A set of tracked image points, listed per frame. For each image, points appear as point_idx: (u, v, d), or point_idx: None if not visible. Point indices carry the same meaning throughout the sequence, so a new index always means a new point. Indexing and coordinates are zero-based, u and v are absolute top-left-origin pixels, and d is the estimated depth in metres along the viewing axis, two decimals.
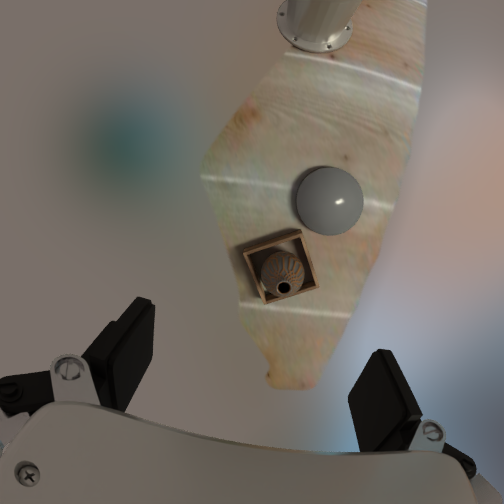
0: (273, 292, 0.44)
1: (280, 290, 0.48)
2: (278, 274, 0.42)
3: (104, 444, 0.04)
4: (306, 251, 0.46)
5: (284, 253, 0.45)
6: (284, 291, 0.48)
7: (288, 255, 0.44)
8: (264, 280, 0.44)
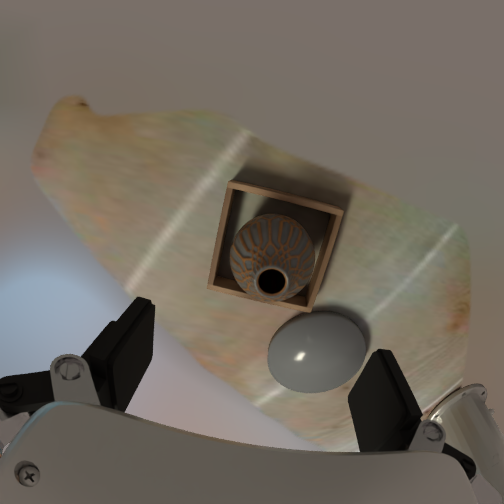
0: (264, 243, 0.20)
1: None
2: (296, 278, 0.20)
3: (104, 444, 0.04)
4: (279, 303, 0.27)
5: None
6: None
7: None
8: (293, 235, 0.21)
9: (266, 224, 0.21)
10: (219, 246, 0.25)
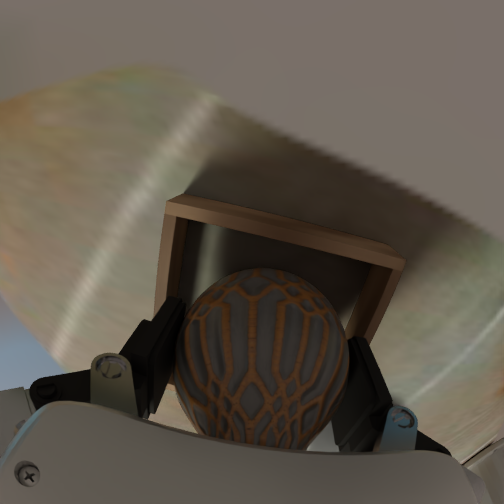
0: (237, 375, 0.07)
1: None
2: (312, 439, 0.07)
3: (104, 444, 0.04)
4: None
5: None
6: None
7: None
8: (311, 345, 0.08)
9: (244, 316, 0.08)
10: None
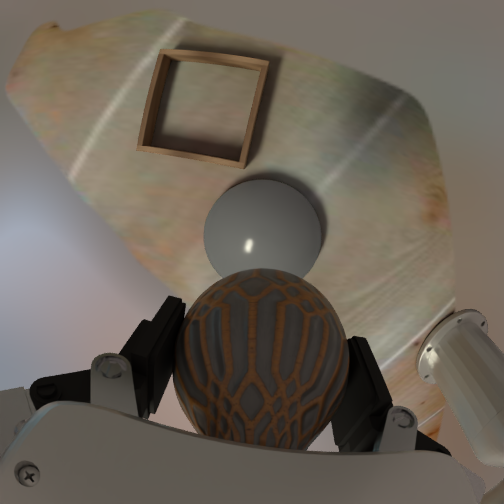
0: (237, 376, 0.07)
1: None
2: (312, 439, 0.07)
3: (104, 444, 0.04)
4: (208, 158, 0.24)
5: None
6: None
7: None
8: (311, 346, 0.08)
9: (244, 316, 0.08)
10: (149, 105, 0.22)
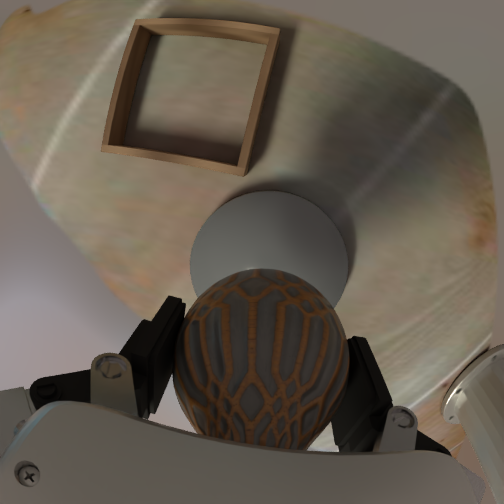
0: (237, 376, 0.07)
1: None
2: (312, 440, 0.07)
3: (104, 444, 0.04)
4: (193, 161, 0.17)
5: None
6: None
7: None
8: (311, 346, 0.08)
9: (244, 316, 0.08)
10: (118, 91, 0.15)
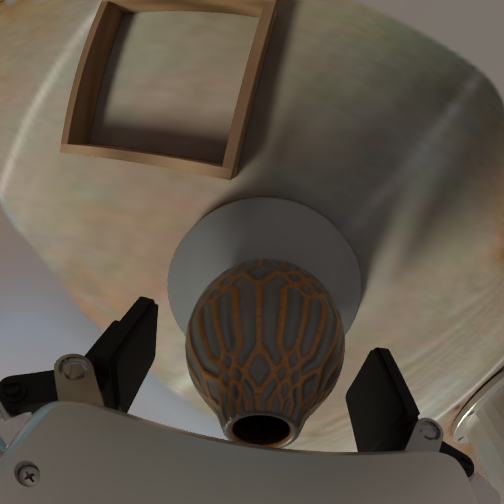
0: (246, 348, 0.09)
1: None
2: (312, 409, 0.09)
3: (104, 444, 0.04)
4: (166, 161, 0.13)
5: None
6: None
7: None
8: (310, 323, 0.09)
9: (252, 297, 0.10)
10: (79, 78, 0.11)
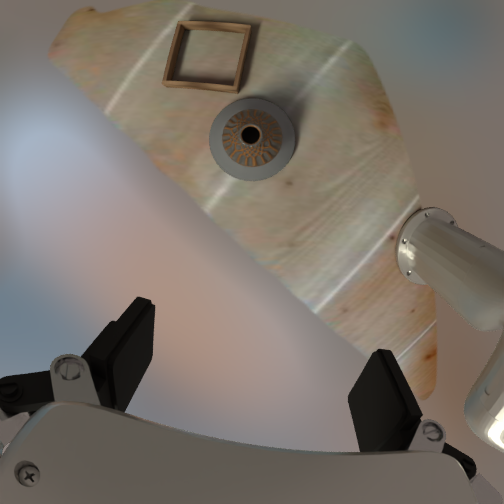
0: (245, 117, 0.28)
1: None
2: (268, 137, 0.28)
3: (104, 444, 0.04)
4: (212, 85, 0.32)
5: None
6: None
7: (274, 157, 0.32)
8: (264, 114, 0.28)
9: (246, 110, 0.29)
10: (171, 55, 0.30)
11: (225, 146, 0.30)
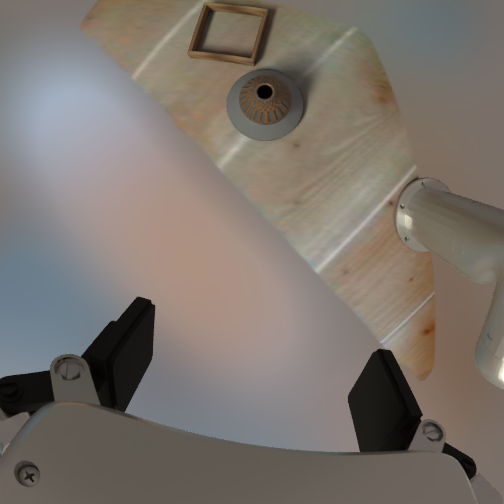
0: (260, 79, 0.30)
1: None
2: (279, 95, 0.30)
3: (104, 444, 0.04)
4: (232, 56, 0.34)
5: (286, 114, 0.35)
6: None
7: (284, 116, 0.34)
8: (277, 78, 0.31)
9: (261, 75, 0.31)
10: (197, 30, 0.33)
11: (241, 103, 0.33)
